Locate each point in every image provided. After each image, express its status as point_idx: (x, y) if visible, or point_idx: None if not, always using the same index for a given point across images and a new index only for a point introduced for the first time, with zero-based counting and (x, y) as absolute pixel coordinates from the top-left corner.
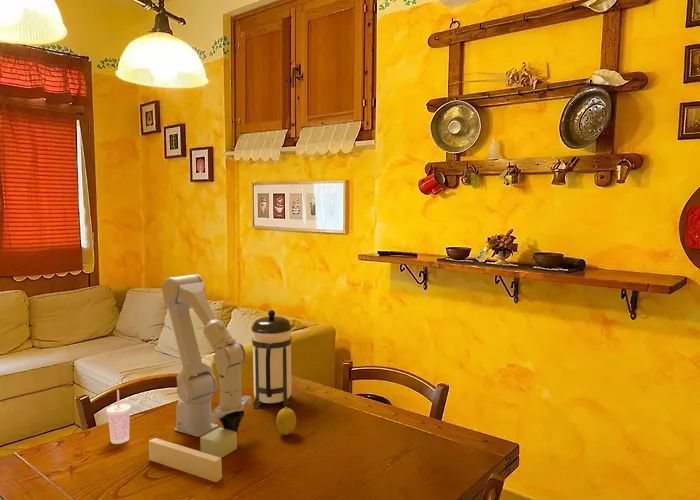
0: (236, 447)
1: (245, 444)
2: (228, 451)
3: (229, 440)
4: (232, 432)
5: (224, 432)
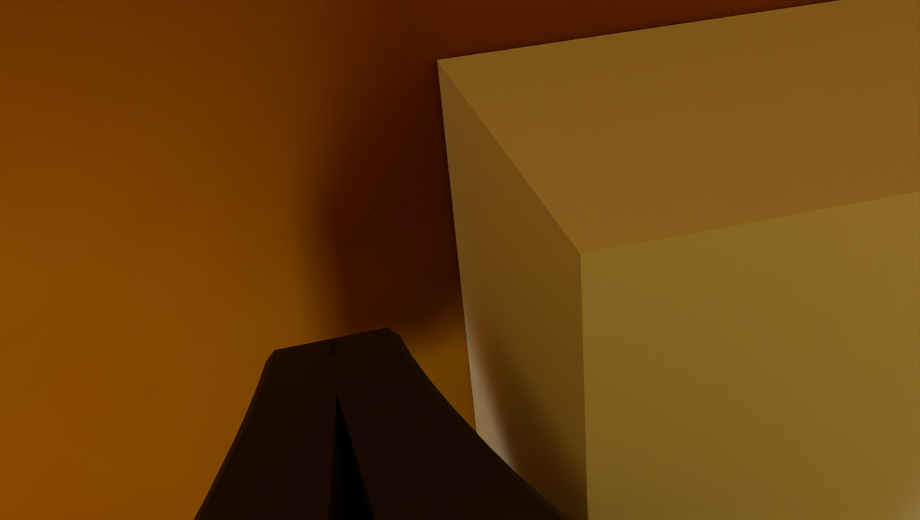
0: (465, 62)
1: (140, 55)
2: (762, 25)
3: (887, 118)
4: (712, 329)
5: (827, 510)
